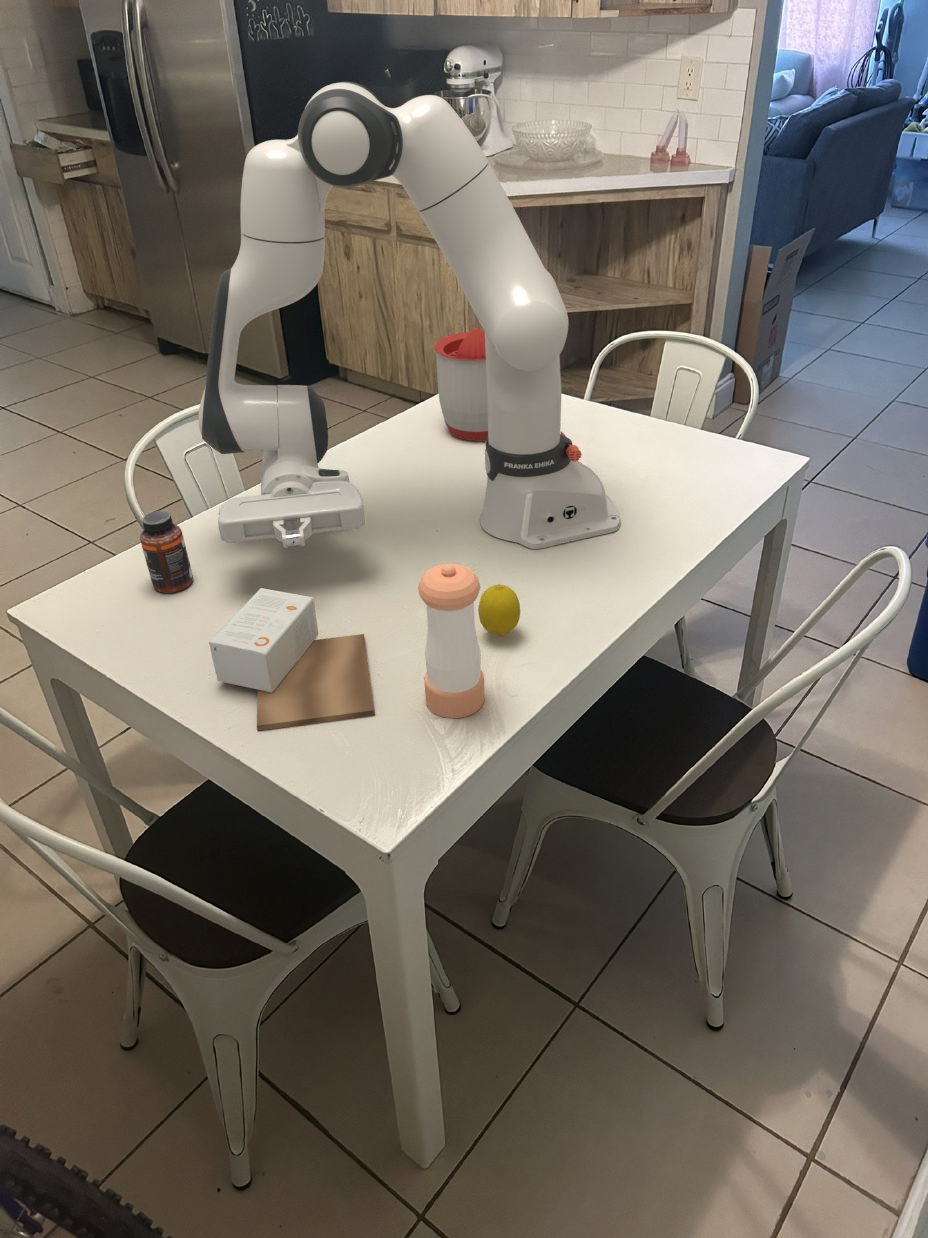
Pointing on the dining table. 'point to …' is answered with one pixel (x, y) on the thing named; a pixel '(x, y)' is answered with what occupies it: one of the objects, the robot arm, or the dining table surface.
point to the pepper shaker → (452, 641)
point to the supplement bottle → (165, 553)
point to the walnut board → (321, 686)
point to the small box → (264, 639)
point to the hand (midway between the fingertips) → (293, 542)
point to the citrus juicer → (463, 384)
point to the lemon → (499, 609)
